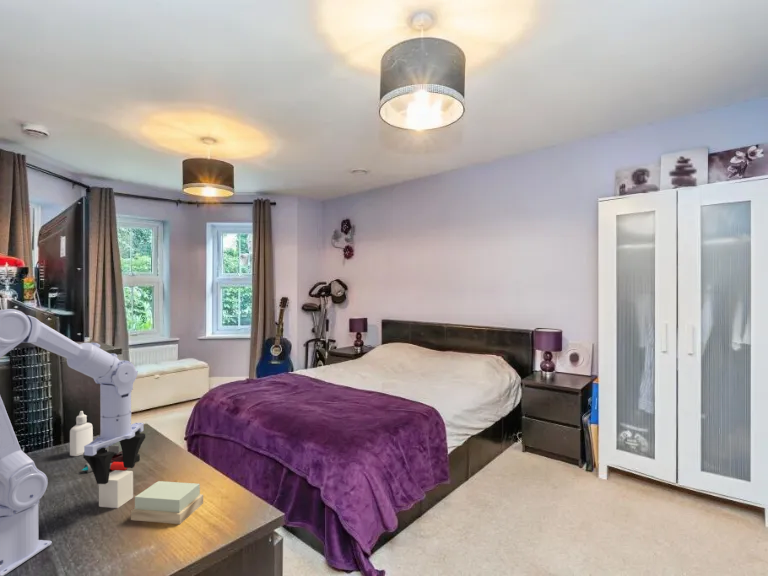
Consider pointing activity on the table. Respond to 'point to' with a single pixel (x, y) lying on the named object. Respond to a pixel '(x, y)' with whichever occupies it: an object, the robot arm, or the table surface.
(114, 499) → the cream block
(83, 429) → the eye dropper bottle
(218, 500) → the table surface
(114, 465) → the toy gun
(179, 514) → the oak base slab
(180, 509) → the sage top slab
